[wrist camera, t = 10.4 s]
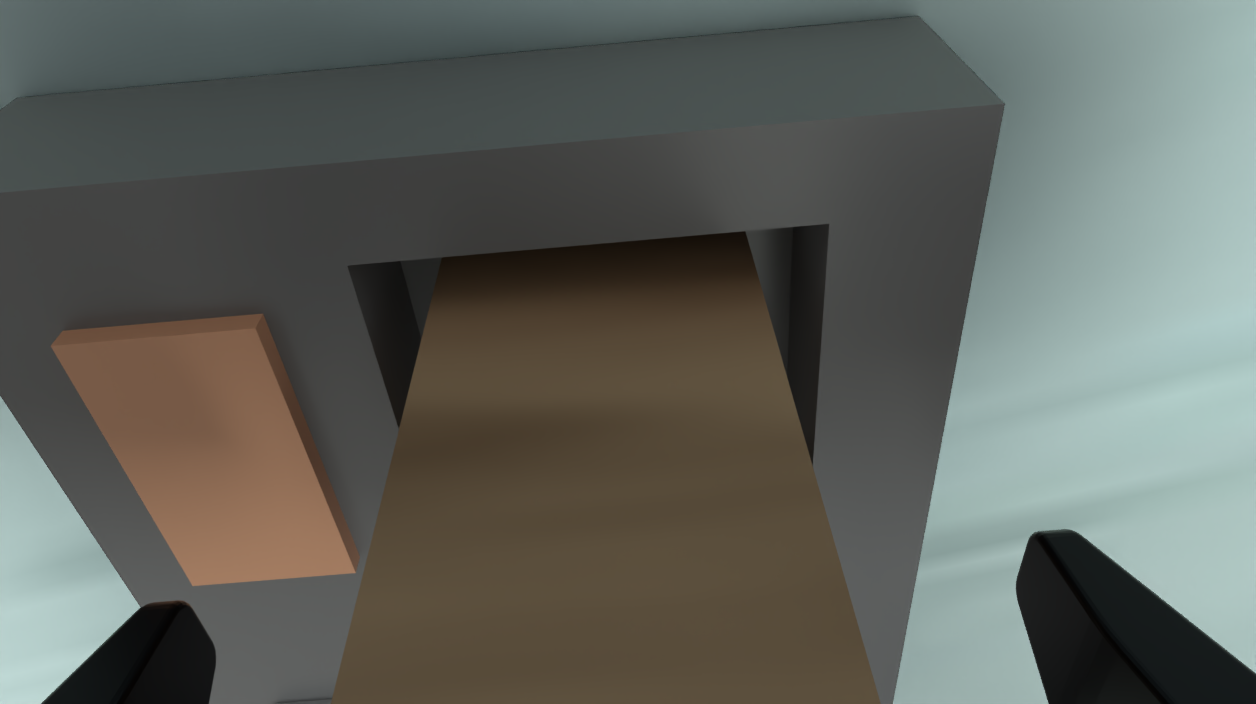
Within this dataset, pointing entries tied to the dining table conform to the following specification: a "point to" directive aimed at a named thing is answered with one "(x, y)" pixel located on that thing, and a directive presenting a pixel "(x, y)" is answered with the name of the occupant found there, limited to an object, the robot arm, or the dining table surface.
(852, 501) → the socket block
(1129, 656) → the robot arm
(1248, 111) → the dining table surface
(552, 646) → the walnut plug
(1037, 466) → the dining table surface
